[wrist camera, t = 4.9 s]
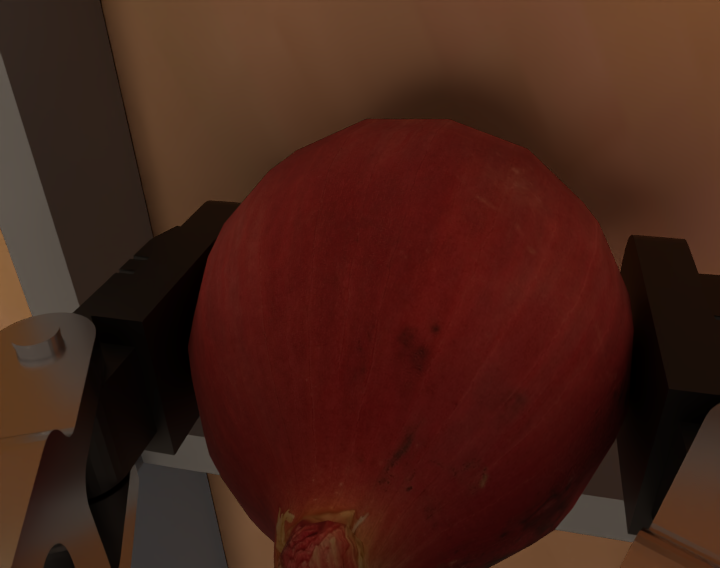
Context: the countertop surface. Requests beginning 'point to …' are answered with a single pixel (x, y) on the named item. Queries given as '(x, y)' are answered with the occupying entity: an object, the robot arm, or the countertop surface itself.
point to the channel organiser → (125, 248)
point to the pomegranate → (410, 349)
